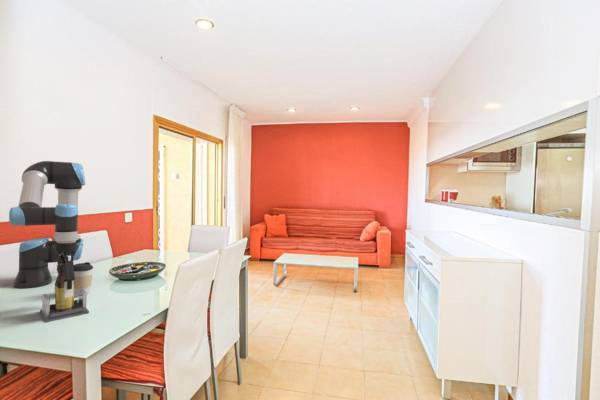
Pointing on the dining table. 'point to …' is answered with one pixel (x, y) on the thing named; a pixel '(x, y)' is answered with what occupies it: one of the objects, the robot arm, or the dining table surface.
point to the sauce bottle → (62, 292)
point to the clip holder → (52, 315)
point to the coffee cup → (82, 277)
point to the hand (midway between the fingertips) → (65, 292)
